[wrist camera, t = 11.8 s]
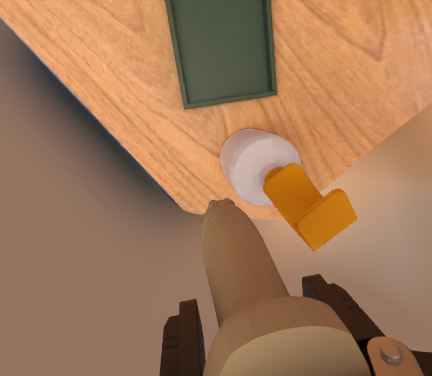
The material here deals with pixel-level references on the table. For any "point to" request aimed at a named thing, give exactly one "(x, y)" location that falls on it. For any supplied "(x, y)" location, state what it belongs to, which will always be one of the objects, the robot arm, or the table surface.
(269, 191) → the soap bottle
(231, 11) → the brush tray
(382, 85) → the table surface
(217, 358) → the handle
